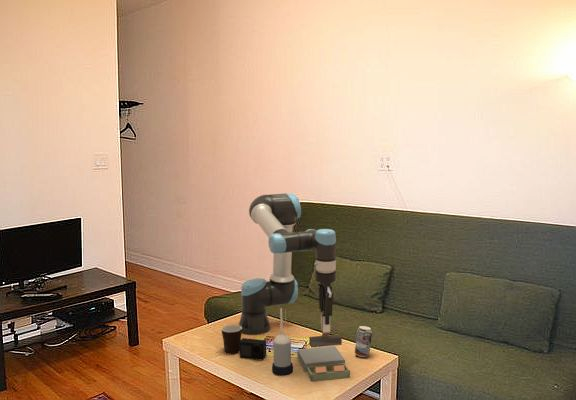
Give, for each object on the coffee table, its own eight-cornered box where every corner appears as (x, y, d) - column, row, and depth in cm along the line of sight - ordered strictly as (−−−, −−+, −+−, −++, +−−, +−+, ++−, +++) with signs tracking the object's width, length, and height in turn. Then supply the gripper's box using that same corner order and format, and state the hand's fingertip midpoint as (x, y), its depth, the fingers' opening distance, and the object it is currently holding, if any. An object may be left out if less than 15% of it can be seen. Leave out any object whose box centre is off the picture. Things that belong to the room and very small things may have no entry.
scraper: (309, 344, 196) (309, 311, 194) (339, 341, 198) (339, 309, 196) (311, 347, 193) (311, 314, 191) (341, 344, 195) (341, 312, 194)
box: (306, 372, 195) (306, 366, 195) (344, 369, 198) (344, 362, 198) (311, 381, 189) (311, 374, 188) (350, 377, 191) (349, 370, 191)
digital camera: (238, 359, 209) (237, 342, 208) (242, 353, 214) (242, 337, 213) (262, 361, 206) (262, 345, 205) (266, 356, 212) (266, 339, 211)
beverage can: (351, 356, 210) (351, 328, 209) (362, 350, 216) (362, 323, 214) (364, 360, 206) (364, 331, 205) (374, 354, 211) (374, 326, 210)
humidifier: (275, 365, 202) (274, 304, 199) (295, 368, 200) (295, 306, 197) (268, 374, 195) (267, 311, 192) (289, 377, 192) (288, 313, 189)
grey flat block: (297, 357, 209) (297, 349, 209) (334, 353, 212) (334, 345, 212) (305, 372, 196) (305, 363, 195) (345, 368, 199) (345, 359, 198)
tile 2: (333, 365, 191) (334, 371, 190) (344, 364, 192) (344, 370, 191) (331, 367, 195) (332, 373, 194) (341, 366, 195) (342, 372, 194)
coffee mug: (239, 356, 212) (238, 332, 211) (219, 354, 213) (218, 331, 212) (246, 345, 223) (246, 323, 222) (228, 343, 225) (227, 321, 224)
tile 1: (315, 367, 189) (316, 372, 188) (325, 366, 190) (326, 371, 189) (313, 370, 193) (314, 375, 192) (323, 369, 194) (324, 374, 192)
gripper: (311, 266, 198) (311, 324, 201) (321, 276, 184) (321, 339, 187) (329, 265, 200) (329, 322, 203) (341, 275, 185) (340, 337, 188)
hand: (325, 330), depth 195 cm, fingers closed on scraper, 2 cm apart
